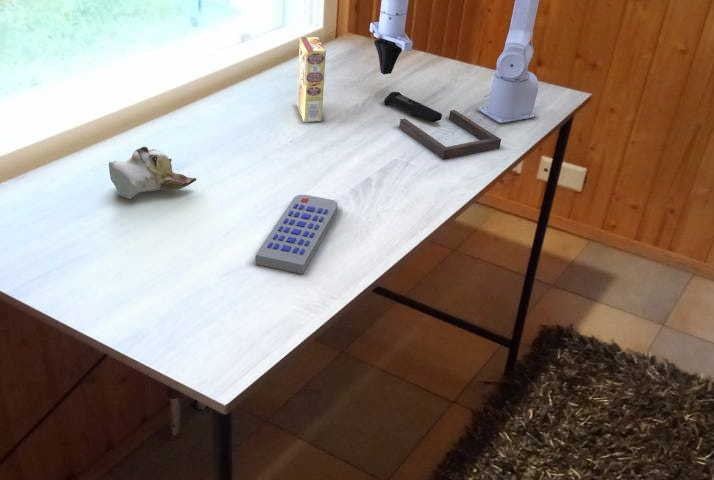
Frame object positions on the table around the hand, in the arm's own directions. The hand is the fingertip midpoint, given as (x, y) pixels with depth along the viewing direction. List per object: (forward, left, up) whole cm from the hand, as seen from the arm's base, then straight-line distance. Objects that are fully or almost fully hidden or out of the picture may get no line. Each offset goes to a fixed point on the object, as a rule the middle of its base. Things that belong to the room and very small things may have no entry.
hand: (386, 73), depth 185 cm
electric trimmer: (0, +12, -5) cm, 13 cm away
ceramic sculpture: (+64, +24, -5) cm, 69 cm away
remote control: (+46, +49, -5) cm, 68 cm away
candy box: (+21, +4, -5) cm, 22 cm away
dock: (0, +25, -5) cm, 25 cm away
